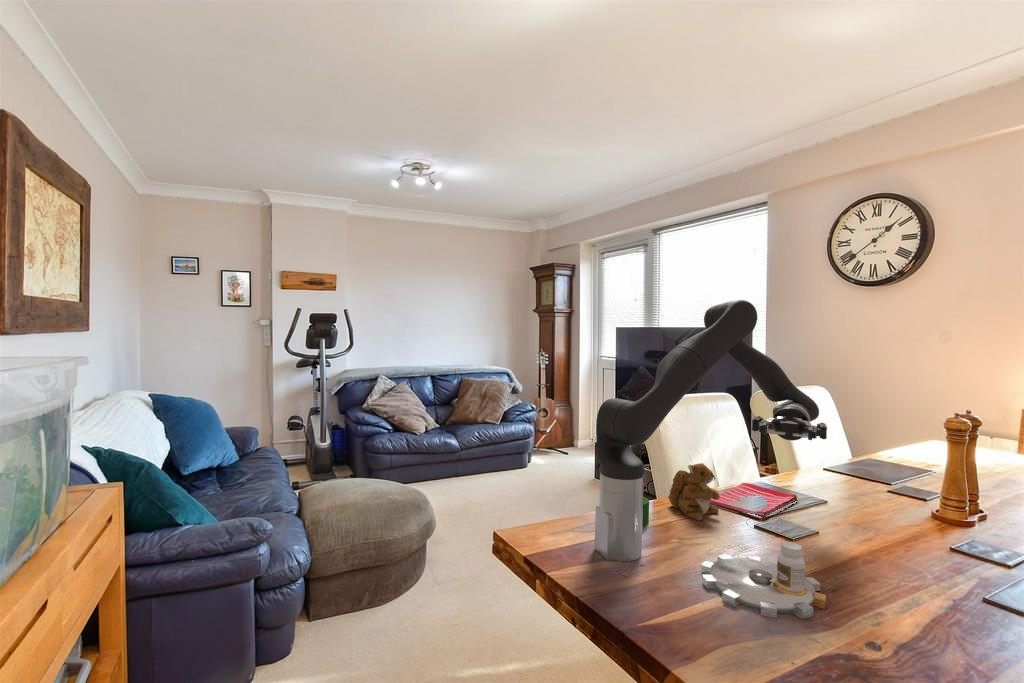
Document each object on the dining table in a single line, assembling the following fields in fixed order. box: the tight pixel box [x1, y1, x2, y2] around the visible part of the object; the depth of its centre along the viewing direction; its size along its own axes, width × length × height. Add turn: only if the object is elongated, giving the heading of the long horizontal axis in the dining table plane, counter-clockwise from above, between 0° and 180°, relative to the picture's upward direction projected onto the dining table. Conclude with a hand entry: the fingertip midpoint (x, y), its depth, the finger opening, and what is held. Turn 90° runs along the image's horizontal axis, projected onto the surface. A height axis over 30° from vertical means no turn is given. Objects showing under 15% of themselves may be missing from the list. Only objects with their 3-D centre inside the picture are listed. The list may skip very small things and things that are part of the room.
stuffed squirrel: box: [667, 462, 720, 521], centre depth 138 cm, size 10×14×13 cm
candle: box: [642, 496, 650, 527], centre depth 130 cm, size 8×8×10 cm
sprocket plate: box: [700, 554, 827, 619], centre depth 97 cm, size 21×21×2 cm
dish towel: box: [709, 482, 799, 518], centre depth 145 cm, size 17×24×3 cm
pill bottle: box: [776, 541, 806, 592], centre depth 94 cm, size 4×4×8 cm
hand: (786, 432), depth 106 cm, fingers open, 8 cm apart
